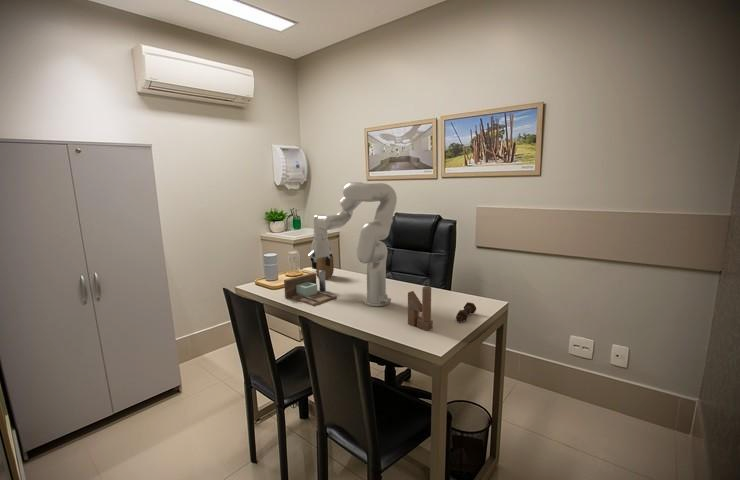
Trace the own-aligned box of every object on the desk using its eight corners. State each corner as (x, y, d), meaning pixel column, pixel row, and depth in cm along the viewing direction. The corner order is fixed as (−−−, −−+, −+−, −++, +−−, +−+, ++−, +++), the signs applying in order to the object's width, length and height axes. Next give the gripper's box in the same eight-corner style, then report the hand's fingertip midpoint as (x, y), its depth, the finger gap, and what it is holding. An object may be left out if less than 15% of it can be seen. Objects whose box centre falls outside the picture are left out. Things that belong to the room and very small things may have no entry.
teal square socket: (317, 293, 194) (317, 284, 194) (305, 297, 188) (305, 287, 188) (308, 290, 200) (308, 281, 199) (296, 294, 194) (296, 285, 193)
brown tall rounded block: (323, 280, 226) (322, 248, 223) (315, 278, 230) (314, 247, 227) (335, 276, 234) (334, 246, 231) (327, 274, 239) (326, 245, 236)
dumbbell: (457, 326, 155) (468, 315, 167) (467, 323, 152) (478, 311, 164) (450, 314, 156) (463, 303, 168) (460, 311, 153) (472, 300, 165)
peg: (327, 291, 202) (326, 270, 200) (322, 292, 200) (321, 271, 198) (323, 289, 205) (322, 269, 203) (318, 291, 202) (317, 270, 200)
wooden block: (412, 321, 156) (413, 282, 154) (432, 328, 149) (433, 287, 146) (407, 324, 154) (407, 283, 151) (427, 331, 146) (428, 289, 143)
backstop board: (339, 297, 192) (339, 278, 190) (309, 306, 177) (309, 287, 175) (311, 288, 208) (310, 271, 206) (281, 296, 193) (281, 279, 191)
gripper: (328, 234, 206) (328, 263, 209) (303, 238, 194) (304, 268, 197) (336, 236, 201) (337, 265, 204) (312, 239, 189) (313, 271, 192)
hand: (321, 267), depth 200 cm, fingers open, 9 cm apart
